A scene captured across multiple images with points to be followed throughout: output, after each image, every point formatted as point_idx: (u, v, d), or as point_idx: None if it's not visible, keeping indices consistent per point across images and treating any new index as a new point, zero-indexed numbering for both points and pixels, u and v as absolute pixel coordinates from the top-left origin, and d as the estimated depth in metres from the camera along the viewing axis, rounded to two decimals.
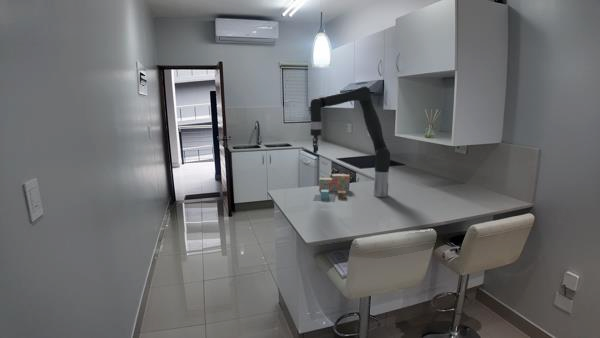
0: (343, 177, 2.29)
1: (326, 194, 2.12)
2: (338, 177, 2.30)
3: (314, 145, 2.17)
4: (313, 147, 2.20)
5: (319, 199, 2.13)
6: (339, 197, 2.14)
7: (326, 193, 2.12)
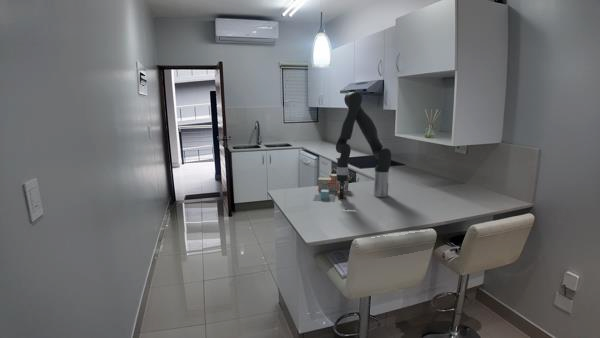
0: None
1: (326, 194, 2.12)
2: None
3: (341, 192, 2.11)
4: None
5: (319, 199, 2.13)
6: (339, 197, 2.14)
7: (326, 193, 2.12)
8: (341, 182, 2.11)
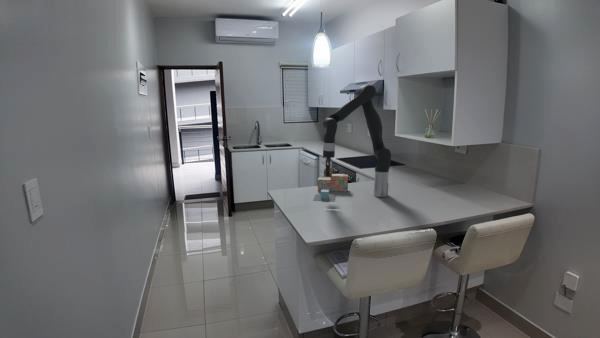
0: (341, 177, 2.29)
1: (326, 194, 2.12)
2: (336, 177, 2.30)
3: (327, 169, 2.06)
4: (326, 170, 2.09)
5: (319, 199, 2.13)
6: (325, 174, 2.10)
7: (326, 193, 2.12)
8: (327, 158, 2.07)
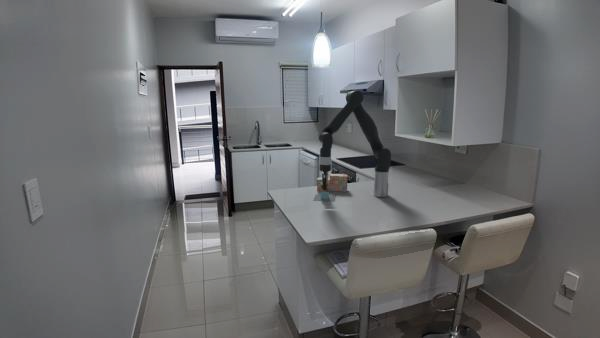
0: (341, 177, 2.29)
1: (326, 194, 2.12)
2: (336, 177, 2.30)
3: (323, 182, 2.07)
4: None
5: (319, 199, 2.13)
6: (322, 189, 2.12)
7: (326, 193, 2.12)
8: (324, 172, 2.08)
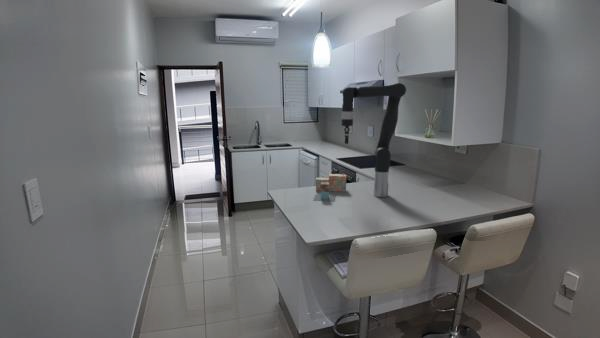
0: (340, 177, 2.29)
1: (326, 194, 2.12)
2: (335, 177, 2.30)
3: (346, 135, 2.11)
4: (345, 138, 2.13)
5: (319, 199, 2.13)
6: (322, 189, 2.12)
7: (326, 193, 2.12)
8: (346, 126, 2.13)
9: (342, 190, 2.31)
